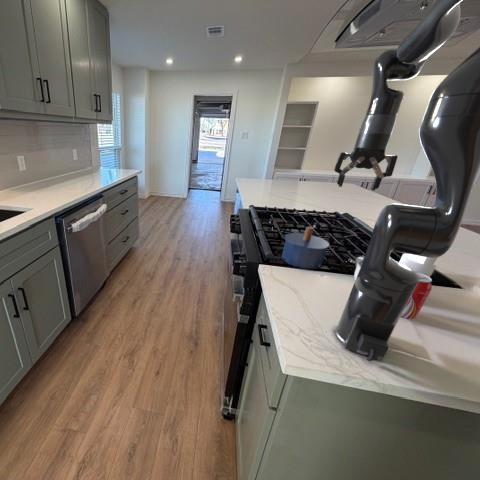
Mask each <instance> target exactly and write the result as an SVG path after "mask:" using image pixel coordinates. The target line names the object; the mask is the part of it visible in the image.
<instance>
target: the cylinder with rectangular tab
mask: <svg viewBox="0 0 480 480" xmlns="http://www.w3.org/2000/svg"><path fill="white" fill-rule="evenodd" d="M438 258H439V257H436V258H429V257H423V256H417V255H412V254H406V253H402V255H401V257H400V260H399V261H398V262H399V263H401V264H403V265H405V266H407V267H409V268H410V269H412V270H413V271H415V272H419V273H422V274H424V275H426V276H428V277H430V276H431V277H432V275H433V273H434V272H435V269H436V268H437V265H438V262H437V260H438ZM431 277H430V278H431Z"/></svg>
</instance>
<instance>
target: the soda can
mask: <svg viewBox="0 0 480 480" xmlns="http://www.w3.org/2000/svg"><path fill="white" fill-rule="evenodd" d="M414 272H415V271H414ZM415 273H416V274H417V275H418V277H419V281H418V284H417V286H416V287H415V289H414V291H413V293H412V295H411V297H410V299H409V301H408V303H407V305H406V307H405V309H404V311H403V313H402V315H401V316H400V318H403V319H410V320H411V319H415V318H416V317H417V316H418V315H419V313H420V311H421V310H422V309H423V306H424V305H425V303H426V301H427V299H428V297H429V295H430V293H431V291H432V288H433V285H432V282H433V279H432V278H431V277H428V276H426V275H424V274H422V273H419V272H415Z"/></svg>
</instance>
